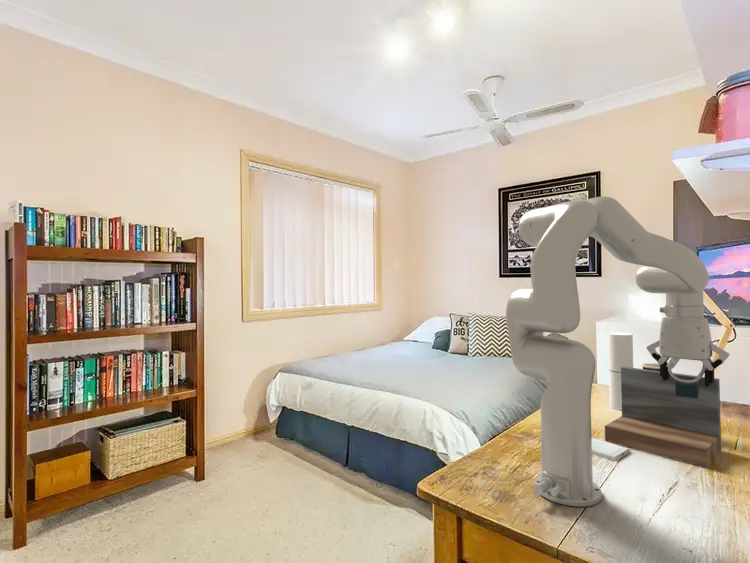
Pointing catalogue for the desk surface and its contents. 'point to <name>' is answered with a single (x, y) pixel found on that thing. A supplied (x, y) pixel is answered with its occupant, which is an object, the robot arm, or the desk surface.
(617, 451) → the hard drive
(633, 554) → the desk surface
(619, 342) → the cylindrical container
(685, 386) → the watch
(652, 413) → the display stand
